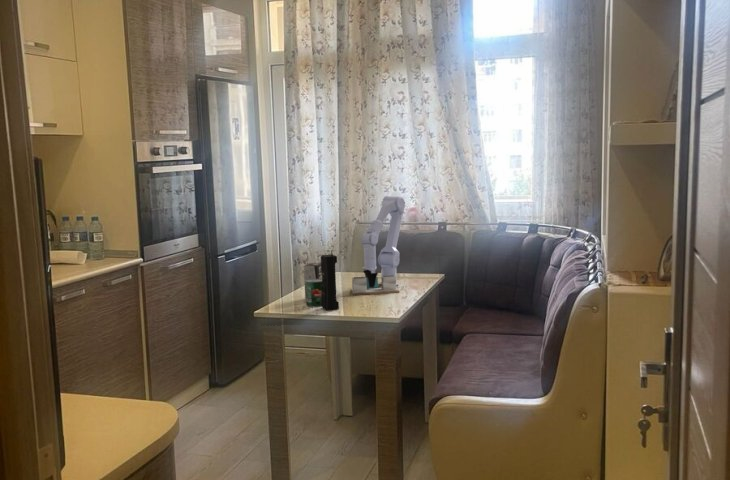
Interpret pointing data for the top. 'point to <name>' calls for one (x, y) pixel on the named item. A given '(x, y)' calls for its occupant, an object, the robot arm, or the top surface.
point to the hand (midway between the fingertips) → (371, 285)
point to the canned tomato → (313, 292)
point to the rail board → (361, 288)
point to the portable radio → (328, 282)
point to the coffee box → (312, 272)
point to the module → (375, 283)
